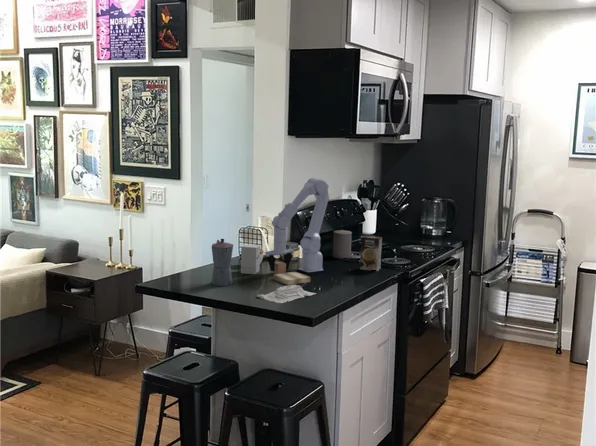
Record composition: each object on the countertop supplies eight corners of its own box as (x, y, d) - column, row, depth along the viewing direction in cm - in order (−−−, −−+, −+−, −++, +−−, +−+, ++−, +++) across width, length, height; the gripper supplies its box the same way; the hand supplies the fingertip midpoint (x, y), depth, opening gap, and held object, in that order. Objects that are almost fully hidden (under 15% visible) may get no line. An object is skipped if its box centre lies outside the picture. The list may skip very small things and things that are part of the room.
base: (295, 276, 285) (295, 271, 285) (310, 281, 275) (310, 277, 275) (273, 279, 278) (273, 274, 278) (287, 285, 269) (287, 280, 268)
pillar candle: (328, 256, 332) (329, 228, 330) (341, 254, 339) (342, 227, 336) (342, 259, 325) (343, 231, 323) (354, 257, 332) (355, 229, 329)
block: (280, 271, 294) (280, 261, 293) (285, 273, 290) (286, 263, 289) (272, 272, 291) (272, 262, 291) (277, 274, 288) (277, 264, 287)
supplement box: (255, 274, 287) (256, 247, 285) (240, 273, 288) (240, 246, 286) (259, 271, 294) (260, 244, 292) (244, 270, 295) (245, 243, 293)
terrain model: (253, 302, 247) (253, 290, 246) (285, 288, 266) (285, 277, 265) (288, 309, 238) (288, 296, 237) (318, 294, 257) (318, 282, 256)
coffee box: (359, 269, 303) (360, 236, 300) (363, 266, 309) (364, 235, 306) (377, 271, 299) (379, 238, 297) (380, 268, 305) (382, 236, 303)
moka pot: (216, 288, 259) (217, 241, 256) (204, 280, 273) (204, 235, 270) (238, 286, 264) (238, 240, 261) (225, 278, 277) (225, 234, 274)
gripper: (288, 239, 296) (287, 266, 298) (262, 241, 288) (261, 270, 290) (296, 241, 290) (295, 269, 292) (270, 243, 282) (269, 273, 284)
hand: (279, 270), depth 291 cm, fingers open, 7 cm apart
